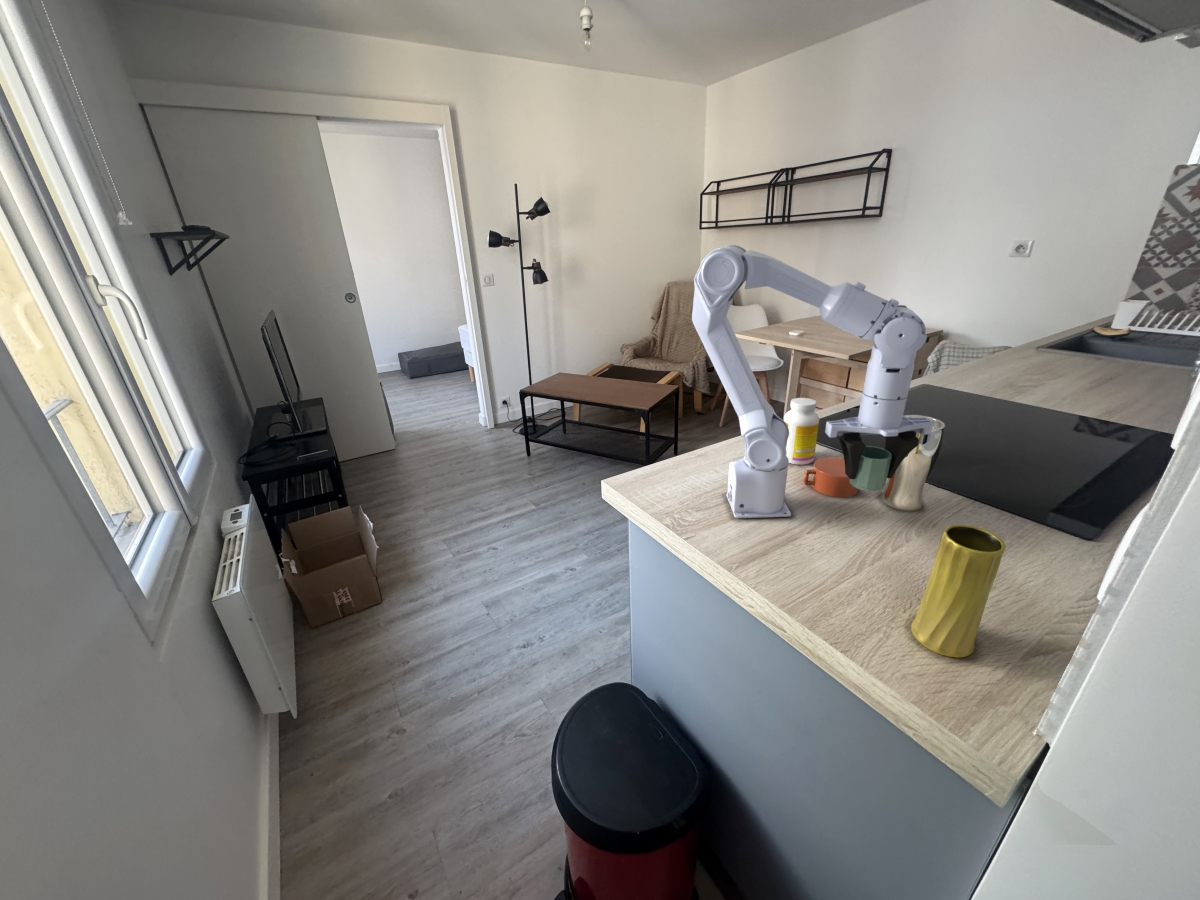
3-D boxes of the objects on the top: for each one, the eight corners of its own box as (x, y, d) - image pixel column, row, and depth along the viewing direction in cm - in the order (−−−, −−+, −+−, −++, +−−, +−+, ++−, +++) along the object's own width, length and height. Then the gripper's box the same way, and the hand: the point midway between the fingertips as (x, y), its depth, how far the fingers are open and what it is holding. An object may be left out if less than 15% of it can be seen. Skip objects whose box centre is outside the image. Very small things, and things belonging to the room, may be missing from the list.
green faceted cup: (857, 492, 72) (863, 460, 70) (843, 476, 77) (849, 446, 75) (891, 491, 72) (898, 459, 70) (875, 475, 77) (881, 445, 74)
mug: (847, 475, 91) (850, 456, 89) (866, 496, 84) (870, 476, 82) (795, 477, 92) (798, 458, 90) (810, 498, 84) (813, 478, 83)
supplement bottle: (820, 459, 98) (829, 401, 92) (801, 469, 94) (808, 409, 89) (792, 449, 103) (799, 393, 97) (773, 458, 100) (779, 401, 94)
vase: (899, 621, 58) (925, 524, 52) (946, 615, 58) (978, 519, 52) (935, 661, 52) (969, 559, 46) (987, 655, 53) (1028, 552, 47)
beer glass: (931, 513, 78) (955, 430, 71) (885, 511, 79) (904, 429, 73) (915, 492, 84) (935, 414, 78) (872, 490, 85) (889, 414, 79)
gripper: (844, 405, 65) (830, 489, 71) (954, 400, 64) (930, 487, 70) (825, 389, 71) (813, 468, 77) (924, 385, 70) (905, 465, 76)
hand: (867, 475), depth 74 cm, fingers closed on green faceted cup, 5 cm apart
